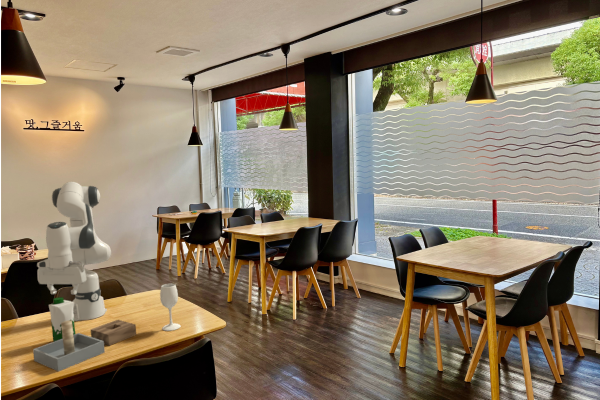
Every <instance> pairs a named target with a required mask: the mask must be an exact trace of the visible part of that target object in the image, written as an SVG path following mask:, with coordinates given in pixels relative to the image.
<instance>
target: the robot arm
mask: <svg viewBox="0 0 600 400" xmlns="http://www.w3.org/2000/svg"><path fill="white" fill-rule="evenodd" d="M100 200H101V193H100V190H99V188H98V187H97V186H95V185H94V186H93V185H88V186H83V185H81V184H80V183H79V182H76V181H68V182H66V183H64V184H63V185H62V187H58V188H55V189H54V190H53V191H52V194H51V201H52V205H53V207H55V208H56V209H57V211H58V212H59V213H60V214H61V215H62V216H64V217H67V218H69V225H70V226H69V225H68V223H67V222H64V221H56V222H50V223H49V224H48V225H47V226H46V230H45V231H46V232H45V239H46V240H45V241H46V247H47V250H48V253H47V258H45V259H44V260H41V261H39V262H37V263H36V267H37V268H38V269H37V271H36V272H37V281H38V284H39V285H47V286H46V287H47V289H48V290H49V291H50V294H51V295H56V294H57V288H55V287H54V285H72V289H71V290H70V294H71V295H75V296H74V299H73V300H72V301H71V302H74V307H73V314H74V322H79V321H87V320H88V321H89V320H93V319H97V318H100V317H102V316H104V315H106V312H107V311H108V310H107V308H105V301H104V297H103V296H101V294H102V293H101V291H102V290H101V288H100V281H99V275H98V273H97V272H96V271H93V270H90V269H87V268H86V267H85V266H86V265H95V264H100V263H104V262H106V261H108V260H109V259H111V257H112V250H111V249H112V248H111V247H110V245H109V244H108V243H106V242H104V241H103V240H101V239H100V237H99V236H98V234H97V233H96V230H95V222H94V216H93V209H94V207H96V206H97V205H98V204H99V203H100Z"/></svg>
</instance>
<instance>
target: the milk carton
mask: <svg viewBox="0 0 600 400" xmlns="http://www.w3.org/2000/svg"><path fill="white" fill-rule="evenodd" d="M73 307H74V302H72V301H71V300H66V299H64V297H62V296H59V297H55V298H53V303H51V304H48V308H49V312H50V313H49V314H50V322H51V332H52V342H55V341H58V340H60V339H63V336H62V326H61V323H62V322H64V321H69V320H71V321H72V327H73V335H74V334H77V333H76V329H75V328H76V326H75V321H74V314H73Z"/></svg>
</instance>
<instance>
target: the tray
mask: <svg viewBox="0 0 600 400" xmlns="http://www.w3.org/2000/svg"><path fill="white" fill-rule="evenodd" d="M73 337H74V347H75V352H73V353H70V354H67V355H65V356H64V346H63V339H60V340H58V341H55V342H53V341H52V342H50V343H46V344H44V345H41V346H39V347H35V348H33V350H32V352H33V361H34V362H36V363H39V364H41V365H43V366H45V367H47V368H50V369H53V370H54V371H56V372H61V371H63V369H64V370H66V369H68V368H70V366H71V367H73V366H75V364H76V365H78V364H81V363H83V362H85V361H87V359H88V360H90V359H92V358H94V357H95V358H96V357H97V356H99V355H101V354H104V353H105V344H104V341H102V340H99V339H96V338H93V337H91V335H90V336H89V335H86V334H82V333H81V332H80V333H79V332H78V333H76V334H74V335H73Z"/></svg>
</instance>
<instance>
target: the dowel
mask: <svg viewBox="0 0 600 400" xmlns="http://www.w3.org/2000/svg"><path fill="white" fill-rule="evenodd" d="M61 326H62V336H63V346H64V356H65V355H67V354H70V353H73V352H75V347H74V337H73V327H72V321H71V320H69V321H64V322H62V323H61Z"/></svg>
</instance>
